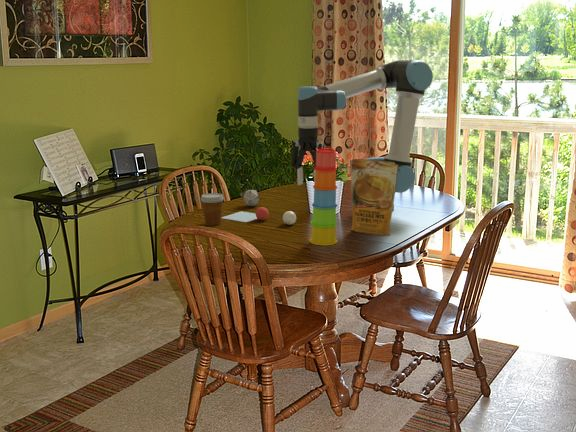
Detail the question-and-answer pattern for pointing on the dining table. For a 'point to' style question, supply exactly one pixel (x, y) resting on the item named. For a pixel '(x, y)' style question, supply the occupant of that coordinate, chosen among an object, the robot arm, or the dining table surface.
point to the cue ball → (289, 217)
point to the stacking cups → (324, 199)
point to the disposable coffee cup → (212, 208)
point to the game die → (251, 197)
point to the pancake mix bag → (372, 195)
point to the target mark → (241, 216)
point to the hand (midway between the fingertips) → (308, 185)
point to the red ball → (262, 213)
